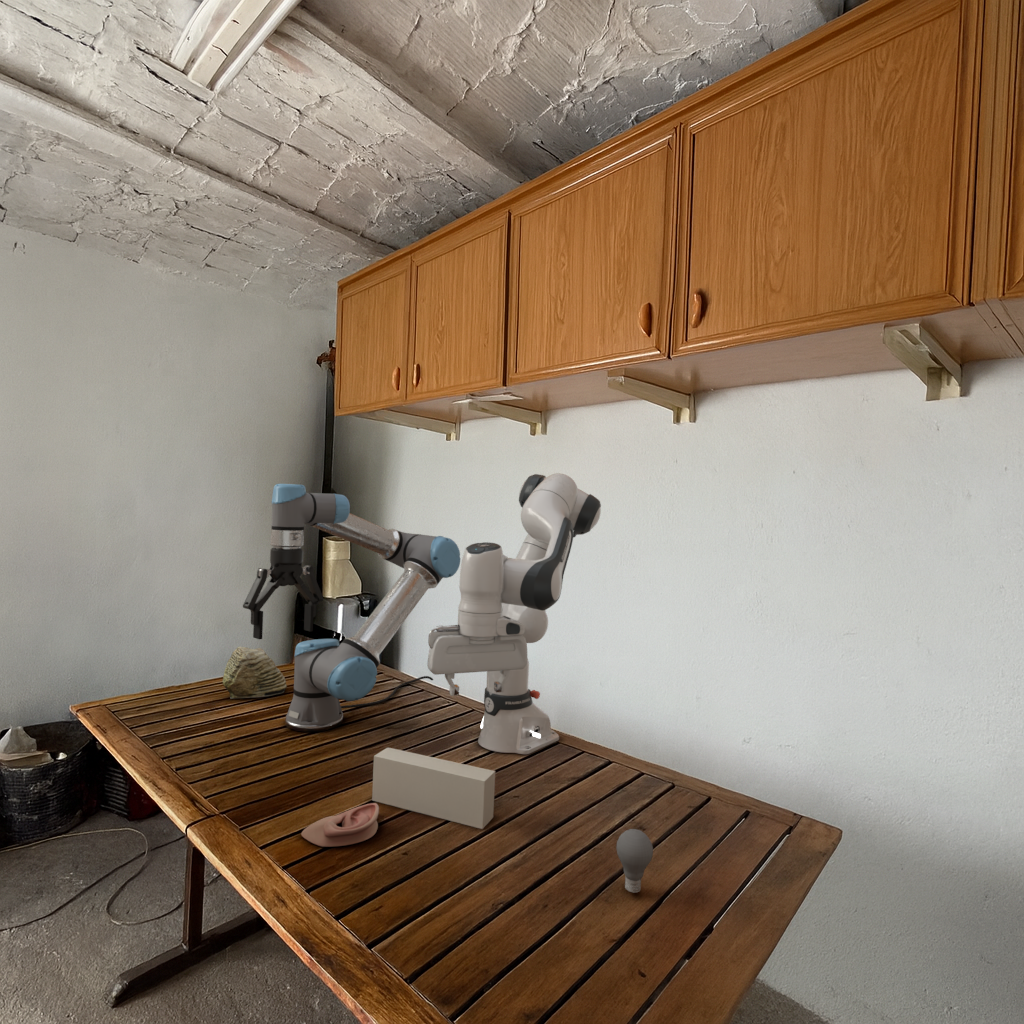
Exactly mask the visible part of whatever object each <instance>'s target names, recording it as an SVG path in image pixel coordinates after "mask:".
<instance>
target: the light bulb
mask: <svg viewBox="0 0 1024 1024" xmlns="http://www.w3.org/2000/svg"><path fill="white" fill-rule="evenodd" d="M615 849H616V854H617V857H618V859H619V861H620V863H621V865H622V867H623V873H624V874H623V875H624V876H625V878H624V888H625V890H627V891H628V892H630V893H634V894H635V893H639V892H640V891H641V889H642V887H641V886H642V879H643V877H644V875H645V871H646V868H647V867H648V866H649V864H650V863H651V861H652V859H653V855H654V847H653V843H652V841H651V838H649V836H648V835H647V834H646V833H645V832H643V831H642V830H641V829H636V828H629V829H627V830H625V831H623V832H622V833H621V834H620V835H619V837H618V839H617V841H616V847H615Z"/></svg>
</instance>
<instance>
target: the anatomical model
mask: <svg viewBox="0 0 1024 1024" xmlns="http://www.w3.org/2000/svg"><path fill="white" fill-rule="evenodd" d="M379 813H380V806H379V805H378V803H376V802H370V803H367V804H366V803H365V804H363V805H359V806H356V807H353V808H351V809H349V810H346V811H344V812H341V813H339V814H336V815H331V816H330V815H329V816H326V817H323V818H321V819H318V820H317V821H314V822H313V823H311V824H310V825H308V826H307V827H305V828H304V829H303V830H302V831H301V833H300V835H301V837H302V838H304V839H305V840H306V841H308V842H309V843H311V844H314V845H316V846H318V847H322V848H328V847H329V848H330V847H333V848H334V847H342V846H350V845H355V844H358V843H362V842H364V841H366V840H369V839H371V838H372V837H374V835H375V834H376V833H377V832H378V831H377V830H378V829H379V823H378V817H379Z"/></svg>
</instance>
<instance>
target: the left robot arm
mask: <svg viewBox="0 0 1024 1024" xmlns="http://www.w3.org/2000/svg"><path fill="white" fill-rule="evenodd" d="M306 489H307V487H306V486H305V485H304V484H296V483H295V484H294V483H276V484H275V485H274V486H273V489H272V497H271V529H270V546H271V548H270V553H269V554H270V555H269V556H270V557H269V562H270V568H269V569H268V568H262V567H259V568H257V571H256V577H255V579H254V581H253V584H252V585H251V588H250V589H249V592H248V594H247V596H246V598H245V600H244V602H243V604H242V608H243V609H246V610H249V611H250V625H252V626H253V628H252V629H253V630H252V632H253V633H252V637H253V638H254V639H257V640H263V629H264V628H263V627H264V611H263V610H261V609H262V608H263V607H264V605H266V603H267V602H268V600H269V599H270V598H271V596H273V594H274V593H275V591H276V590H277V589H278V588H280V587H286V586H290V587H291V586H294V587H295V588H296V589H297V591H298V592H299V593H300V595H302V597H303V598H304V599H305V601H306V602H307V603H304V616H303V617H304V619H303V630H304V631H307V632H309V633H310V632H313V631H314V618H315V617H316V615H317V614H316V613H317V606H318V605H319V604H320V603H321V602H323V601H324V596H323V593H322V591H321V588H320V586H319V583H318V581H317V579H316V577H315V569H314V566H313V565H307V564H305V565H303V566H302V564H303V562H304V549H303V548H302V547H303V546H304V539H305V538H304V536H305V525H307V526H309V527H313V528H315V529H317V530H320V531H322V532H325V533H328V534H330V535H332V536H335V537H337V538H339V539H342V540H345V541H347V542H349V543H352V544H355V545H357V546H359V547H362V548H364V549H367V550H369V551H371V552H374V553H377V555H378V557H379V558H380V559H382V560H385V561H387V562H389V563H391V564H393V565H396V566H398V567H399V568H402V569H404V571H403V572H402V574H401V575H400V576H399V577H398V579H397V580H396V581H395V582H394V584H393V585H392V587H391V588H390V589H389V590H388V592H386V594H385V596H383V598H382V599H381V601H380V602H379V603H378V604H377V606H376V607H375V608H374V609H373V611H372V612H371V613H370V615H369V616H368V617H367V619H366V620H365V621H364V622H363V624H362V625H361V626H360V628H359V629H358V630H357V631H356V633H355V634H354V636H350V637H345V638H344V639H343V641H341V643H340V641H339V639H337V638H318V639H308V640H304V641H300V642H299V643H297V644H296V646H295V650H294V655H293V657H294V672H293V673H294V674H293V695H292V696H293V697H292V699H291V702H290V704H289V708H288V711H287V713H286V715H285V726H286V728H287V729H289V730H291V731H294V732H295V731H296V732H301V733H316V732H325V731H329V730H332V729H335V728H337V727H339V726H340V725H342V723H343V722H344V713H343V709H352V708H361V707H368V706H373V705H378V704H382V703H385V702H386V701H388V700H389V699H390V698H392V697H393V696H394V695H395V694H396V693H397V691H398V690H399V689H400V688H402V687H403V686H406V685H409V684H412V683H415V682H418V681H420V680H421V681H422V680H424V679H429V680H430V681H434V678H433V677H431V676H428V675H424V676H420V677H418V678H415V679H412V680H409V681H405V682H403V683H400V684H399V685H397V686H395V688H394V690H393V691H392V692H391V694H389V695H388V696H386V697H385V698H383V699H380V700H376V701H371V702H365V703H356V704H347V705H341V702H340V700H343V701H346V702H355V701H358V700H361V699H363V698H364V697H366V696H367V695H368V694H370V692H371V691H372V690H373V688H374V687H375V685H376V682H377V679H378V678H377V676H378V669H377V668H378V667H379V665H380V664H381V660H380V655H381V653H382V652H383V651H384V649H386V647H387V646H388V644H389V642H391V640H392V638H393V637H394V636H395V635H396V633H397V632H398V631H399V629H400V628H401V626H402V625H403V624H404V622H405V621H406V620H407V619H408V618H409V615H410V614H411V613H412V612H413V610H414V609H415V608H416V606H417V605H418V603H419V601H421V599H423V596H424V595H425V594H426V592H427V591H428V590H430V589H435V588H437V586H438V585H439V583H440V582H441V581H442V580H443V579H448V578H452V577H453V576H455V574H457V572H458V570H459V568H460V566H461V552H460V551H461V550H460V548H459V546H458V544H457V542H456V541H454V540H453V539H452V538H449V537H446V536H443V535H437V536H436V535H428V534H420V533H410V532H405V531H401V530H397V529H396V528H389V529H387V528H385V527H382V526H380V525H377V524H376V523H373V522H371V521H369V520H367V519H365V518H362V517H359V516H357V515H355V514H353V513H350V512H351V510H350V509H351V508H350V507H351V504H350V501H349V499H348V498H347V496H345V495H344V494H339V493H324V492H323V493H320V492H307V490H306ZM302 574H303V575H304V578H305V581H306V583H307V586H308V587H307V586H306V584H305V581H304V580H303V579H302V577H301V576H302ZM269 576H270V579H269V580H268V581H267V579H268V578H269ZM266 581H267V583H266ZM265 583H266V585H265Z"/></svg>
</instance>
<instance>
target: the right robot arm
mask: <svg viewBox="0 0 1024 1024" xmlns="http://www.w3.org/2000/svg"><path fill="white" fill-rule="evenodd" d="M518 503H519V506H520V507H521V510H520V521H521V524H522V527H523V529H524V530H525V532H526V533H527V534H526V537H525V538H524V541H523V542H522V544H521V546H520V548H519V551H518V553H517V554H516V557H515V558H513V557H508V556H507V555H505V554H504V553H503V552H504V551H503V548H502V546H501V545H500V544H498V543H495V542H489V541H487V542H485V541H484V542H475V543H472V544H469V545H467V546H466V547H465V549H464V551H463V555H462V557H461V558H462V559H461V562H460V571H459V572H460V573H459V585H458V587H459V591H460V601H459V604H458V608H457V609H458V610H457V611H458V612H457V624H450V625H437V626H436V627H434V628H432V629H431V630H430V631H429V633H428V640H427V641H428V642H427V643H428V647H429V650H428V654H427V663H426V664H427V669H428V670H429V672H431V673H432V674H433V675H434V676H435V675H436V676H437V675H444V678H445V680H446V682H447V684H448V685H449V695H450V696H451V697H455V696H459V695H460V692H459V691H460V686H459V685H458V684H455V683H454V682H453V680H455V675H456V674H467V673H469V674H470V673H484V672H486V687H485V688H484V696H483V704H484V706H483V707H484V711H483V712H484V713H483V717H482V720H481V723H480V733H479V736H478V739H477V743H478V745H479V746H480V747H482V748H483V749H486V750H489V751H492V752H496V753H505V754H506V753H509V754H519V755H529V754H530V755H531V754H532V753H534V752H536V751H538V750H541V749H543V748H545V747H547V746H549V745H552V744H554V743H556V742H559V740H560V735H559V734H558V733H557V732H556V731H554V730H553V729H552V727H551V726H552V725H551V719H550V717H549V714H547V713H546V712H545V711H544V710H543V709H542V708H540V707H539V706H538V705H536V704H535V703H534V702H533V699H536V700H538V699H539V698H540V696H541V692H540V691H538V690H535V689H532V690H531V689H529V674H530V661H529V658H528V644H535V643H537V642H539V641H540V640H541V639H542V638H543V637H544V636H545V635H546V633H547V631H548V628H549V618H548V615H547V611H546V610H548V609H549V608H551V607H553V606H554V605H555V604H556V603H557V602H558V601H559V599H560V597H561V593H562V589H563V581H564V574H565V572H566V568H567V564H568V560H569V557H570V555H571V550H572V545H573V541H574V538H576V537H577V536H578V535H579V536H580V535H581V536H582V535H585V534H587V533H590V532H591V530H593V529H594V528H595V526H596V525H597V524H598V522H599V521H600V519H601V511H602V510H601V509H602V504H601V500H599V499H598V498H597V497H596V496H595V495H593V494H591V493H590V494H588V493H587V492H586V491H584V490H582V489H580V488H578V485H577V483H576V482H575V480H574V479H573V478H571V476H569V475H567V474H564V473H559V472H558V473H553V474H549V475H548V476H547V477H546V475H544V474H537V473H534V474H531V475H529V476H528V477H527V478H526V480H525V481H524V482H523V483H522V485H521V487H520V489H519V495H518Z"/></svg>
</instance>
